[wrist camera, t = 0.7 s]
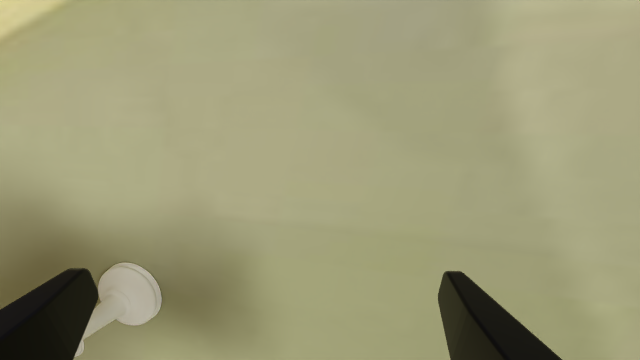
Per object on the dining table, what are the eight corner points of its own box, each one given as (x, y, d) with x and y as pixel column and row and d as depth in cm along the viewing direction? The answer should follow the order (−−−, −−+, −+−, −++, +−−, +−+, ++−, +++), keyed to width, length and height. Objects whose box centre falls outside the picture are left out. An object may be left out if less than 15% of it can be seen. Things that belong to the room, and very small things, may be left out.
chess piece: (97, 301, 28) (-57, 410, 18) (112, 250, 26) (-47, 341, 17) (151, 331, 27) (23, 459, 18) (170, 282, 26) (40, 392, 16)
